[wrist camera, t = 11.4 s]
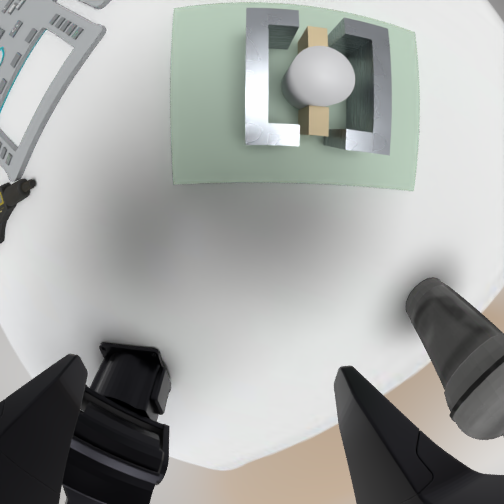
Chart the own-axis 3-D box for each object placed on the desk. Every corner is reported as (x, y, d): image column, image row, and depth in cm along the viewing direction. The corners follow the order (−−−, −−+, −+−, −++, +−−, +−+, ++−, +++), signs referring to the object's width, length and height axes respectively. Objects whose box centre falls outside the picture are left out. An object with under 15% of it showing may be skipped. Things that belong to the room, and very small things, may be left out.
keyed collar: (245, 142, 15) (245, 145, 11) (246, 34, 12) (246, 7, 9) (359, 148, 15) (389, 155, 12) (360, 46, 12) (388, 28, 9)
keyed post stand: (178, 181, 17) (152, 200, 12) (178, 14, 12) (155, -19, 7) (405, 187, 17) (447, 208, 13) (406, 36, 12) (447, 18, 8)
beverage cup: (461, 290, 21) (569, 432, 3) (413, 339, 24) (492, 499, 6) (436, 248, 19) (588, 422, 1) (379, 307, 22) (479, 518, 4)
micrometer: (-18, 253, 18) (-33, 211, 16) (-8, 246, 19) (-21, 205, 17) (38, 228, 17) (21, 170, 15) (51, 220, 18) (35, 165, 16)
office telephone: (57, -75, 2) (181, -52, 8) (68, -67, 5) (188, -36, 10) (-61, 103, 9) (1, 199, 15) (-46, 101, 11) (20, 191, 17)
